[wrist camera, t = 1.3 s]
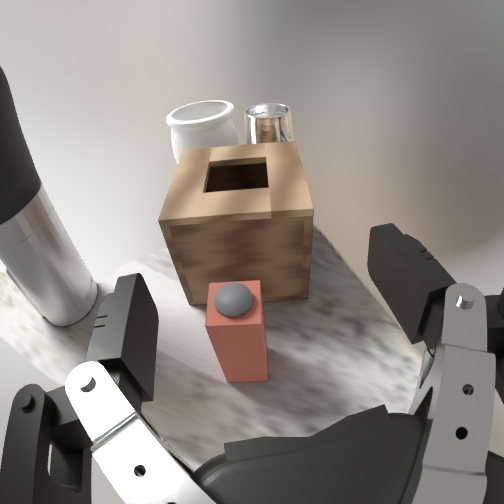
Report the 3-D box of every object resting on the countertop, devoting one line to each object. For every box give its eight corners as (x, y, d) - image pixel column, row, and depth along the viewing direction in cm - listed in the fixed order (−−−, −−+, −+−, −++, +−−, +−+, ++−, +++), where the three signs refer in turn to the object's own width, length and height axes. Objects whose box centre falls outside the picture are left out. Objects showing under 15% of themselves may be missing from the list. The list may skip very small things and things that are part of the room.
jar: (176, 187, 56) (158, 112, 46) (227, 169, 59) (216, 95, 49) (197, 217, 49) (177, 129, 39) (254, 194, 52) (246, 109, 42)
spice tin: (227, 382, 30) (203, 321, 22) (228, 348, 33) (207, 278, 25) (267, 381, 30) (260, 318, 22) (266, 346, 32) (259, 275, 24)
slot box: (189, 304, 37) (158, 220, 28) (201, 228, 47) (183, 150, 38) (307, 298, 36) (313, 208, 27) (295, 221, 46) (295, 141, 37)
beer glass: (299, 204, 49) (298, 114, 39) (255, 212, 49) (246, 121, 38) (287, 181, 54) (284, 100, 44) (247, 188, 54) (238, 106, 43)
